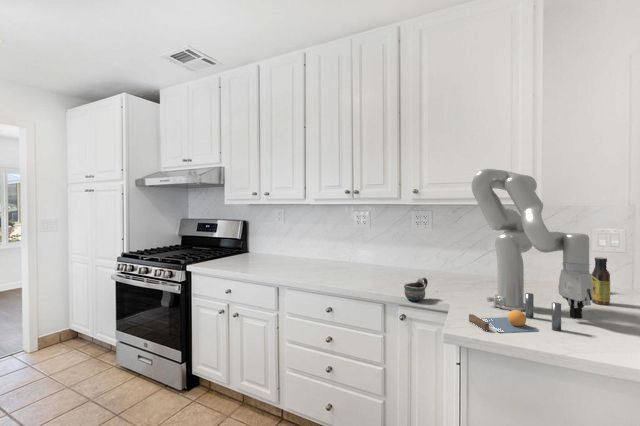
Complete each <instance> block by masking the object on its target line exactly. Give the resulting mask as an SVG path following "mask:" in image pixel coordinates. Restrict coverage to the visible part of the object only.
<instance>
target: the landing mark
mask: <svg viewBox="0 0 640 426" xmlns="http://www.w3.org/2000/svg"><path fill="white" fill-rule="evenodd" d="M480 318H481V317H480ZM481 319H487V320H488V322H487V323H489V324H490V323H491V324H492V325H493V326H494V327H495V328H497V329H498V328H499V329H500V328H501V331H502V330H503V331H504V332H512V333H530V332H534V331H536V332H539V330H538V329H536V328H534V327H531V326H530V325H528V324H526V323H525V324H524V325H523V326H520V327H517V326H514V325H512V324H511V323H510V322H509V320H508V316H506V317H505V316H503V317H502V316H501V317H482V318H481ZM491 319H492V320H493V321H492V320H491ZM487 320H486V321H487ZM489 320H490V321H489ZM491 324H490V325H491ZM490 325H489V326H490ZM492 325H491V326H492ZM491 326H490V327H491ZM493 326H492V327H493ZM490 327H489V328H490ZM499 331H500V330H499Z"/></svg>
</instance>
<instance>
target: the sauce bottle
mask: <svg viewBox="0 0 640 426" xmlns="http://www.w3.org/2000/svg"><path fill="white" fill-rule="evenodd" d="M607 262H608V258H607V257H604V256H603V257H602V256H601V257H599V256H595V257H594V267H593V271H592V272H591V273H590V274H591V279H592V286H593V299H592V301H591V302H592V303H593V304H594V305H603V306H608V305H610V303H611V273H610V272H609V270H608V269H607Z"/></svg>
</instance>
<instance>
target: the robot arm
mask: <svg viewBox="0 0 640 426" xmlns="http://www.w3.org/2000/svg"><path fill="white" fill-rule="evenodd" d="M537 186H538V184H537V181H536V179H535V178H534V177H533V176H531V175H526V174H521V173H516V172H512V171H507V170H503V169H495V168H484V169H481V170H479V171H478V172H476V174H475V175H474V176H473V178H472V181H471V191H472V194H473V196H474V199H475V201H476V202H477V204H478V205H479V208H480V210H481V212H482V214H483V216H484V218H485V220H486V222H487V224H488V226H489V228H491V229H492V230H494V231H503V232H502V233H500V234H499V235H498V236H497V237H496V239H495V242H494V247H495V252H496V260H497V263H496V264H497V294H494V296H492V297H491V296H490V297H489V296H487V297H486V302H488V303H493V306H494V307H496V308H499V309H502V310H508V311H512V310H519V311H521V312H523V311H525V297H524V295H525V293H524V290H525V287H524V286H525V279H524V277H525V273H524V270H525V269H524V260H523V255H522V253H526V252H529V251H530V250H531V249H532V247H534V248H535V250H537V251H538V252H541V253H554V252H562V269H561V271H560V273H559V280H558V293H559V296H561V298H563V299H564V300H566V301H567V304H568V306H569V318H572V319H574V320H580V319H581V320H582V318H583V309H584V308H585V306H591V305H592V303H591V302H592V299H593V286H592V279H591V274H592V273H591V272H590V267H589V266H590V237H589V235H588V234H586V233H579V232H578V233H576V232H575V233H574V232H571V233H569V232H568V233H567V232H566V233H565V232H559V231H549V229H548V228H547V227H546V225H545V223H544V221H543V218H542V213H543V209H544V203H543V202H542V200H541V198H540V197H539V196H538V194H537V192H536V190H537ZM493 189H495V190H497V189H498V190H501V191H502V190H503V191H506V192H507V194H508V196H509V198H510V199H511V200H512V202H513V204H514V206H515V208H516V209H517V210H518V211H516V210H514V209H511V208H506V207H505V206H504V205H503V203H502V201H501V199H500V197H499V196H498V195H497V194H496V191H494V190H493ZM518 212H519V213H518Z"/></svg>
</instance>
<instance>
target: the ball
mask: <svg viewBox="0 0 640 426" xmlns="http://www.w3.org/2000/svg"><path fill="white" fill-rule="evenodd" d="M507 317H508V320H509V322H510V323H511V324H512V325H514V326H517V327H520V326H523V325H524V324H526V323H527V318H526V316H525V312H523V311H519V310H509V312H508V314H507Z"/></svg>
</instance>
